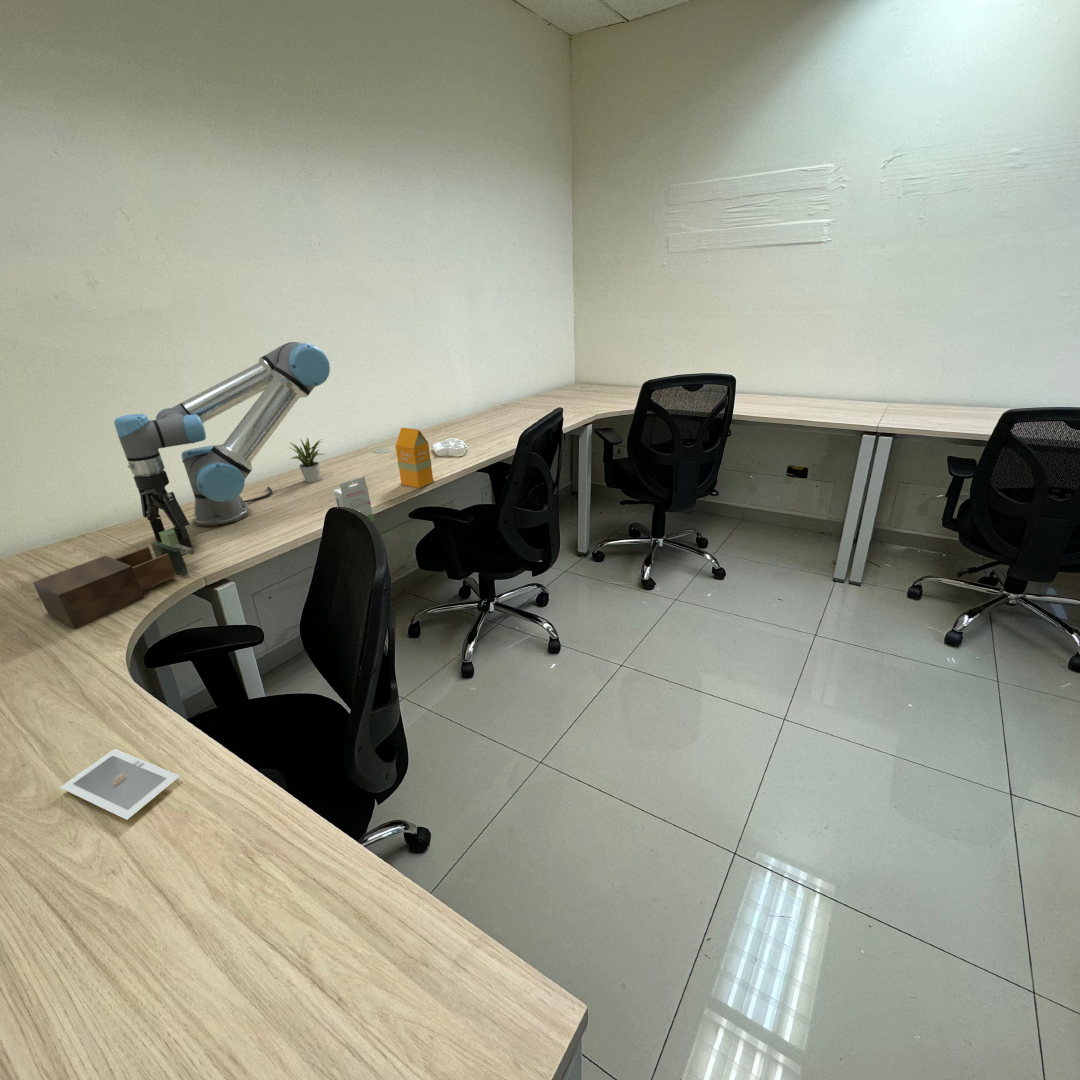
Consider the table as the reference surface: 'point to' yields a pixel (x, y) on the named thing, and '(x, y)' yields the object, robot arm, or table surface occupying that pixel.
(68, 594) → the cabinet
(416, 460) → the orange juice
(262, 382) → the robot arm
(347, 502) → the ink box
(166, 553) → the drawer
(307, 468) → the house plant
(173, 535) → the block
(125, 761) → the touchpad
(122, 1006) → the table surface
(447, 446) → the white flat lumpy piece
